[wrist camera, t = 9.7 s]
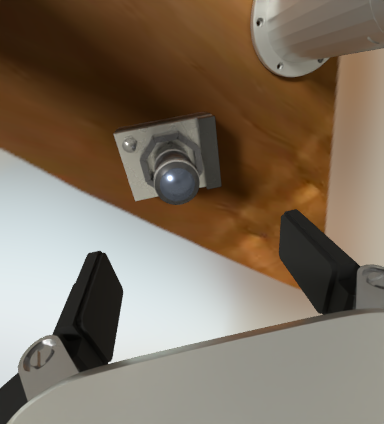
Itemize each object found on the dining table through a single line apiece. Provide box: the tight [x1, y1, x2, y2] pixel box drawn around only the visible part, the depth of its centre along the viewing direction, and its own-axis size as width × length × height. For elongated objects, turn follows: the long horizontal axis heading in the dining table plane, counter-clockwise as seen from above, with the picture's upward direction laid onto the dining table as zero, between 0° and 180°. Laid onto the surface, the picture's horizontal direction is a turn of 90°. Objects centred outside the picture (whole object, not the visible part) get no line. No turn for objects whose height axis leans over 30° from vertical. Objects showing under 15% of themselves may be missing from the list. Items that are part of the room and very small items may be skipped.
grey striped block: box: [114, 111, 221, 201], centre depth 29 cm, size 12×9×7 cm
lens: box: [154, 144, 200, 205], centre depth 25 cm, size 5×5×8 cm
